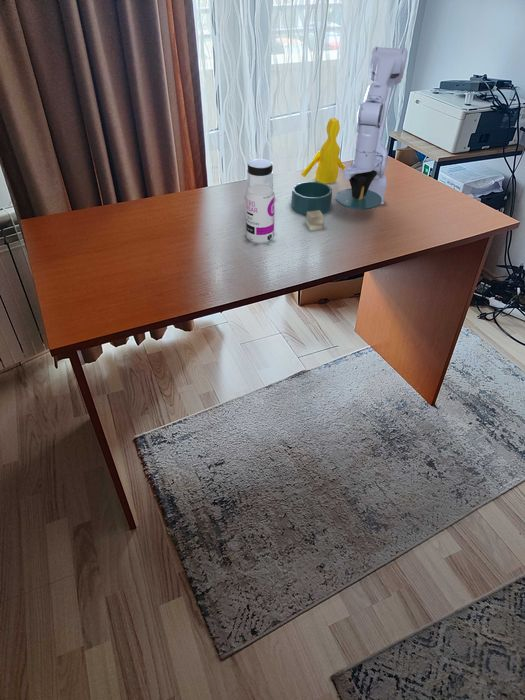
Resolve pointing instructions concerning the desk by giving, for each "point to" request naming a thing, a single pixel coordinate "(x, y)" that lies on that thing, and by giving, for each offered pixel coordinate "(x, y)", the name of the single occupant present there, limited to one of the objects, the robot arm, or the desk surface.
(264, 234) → the supplement can
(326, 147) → the figure statuette
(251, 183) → the jar
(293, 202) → the tin
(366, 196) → the lid
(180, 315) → the desk surface
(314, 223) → the block
